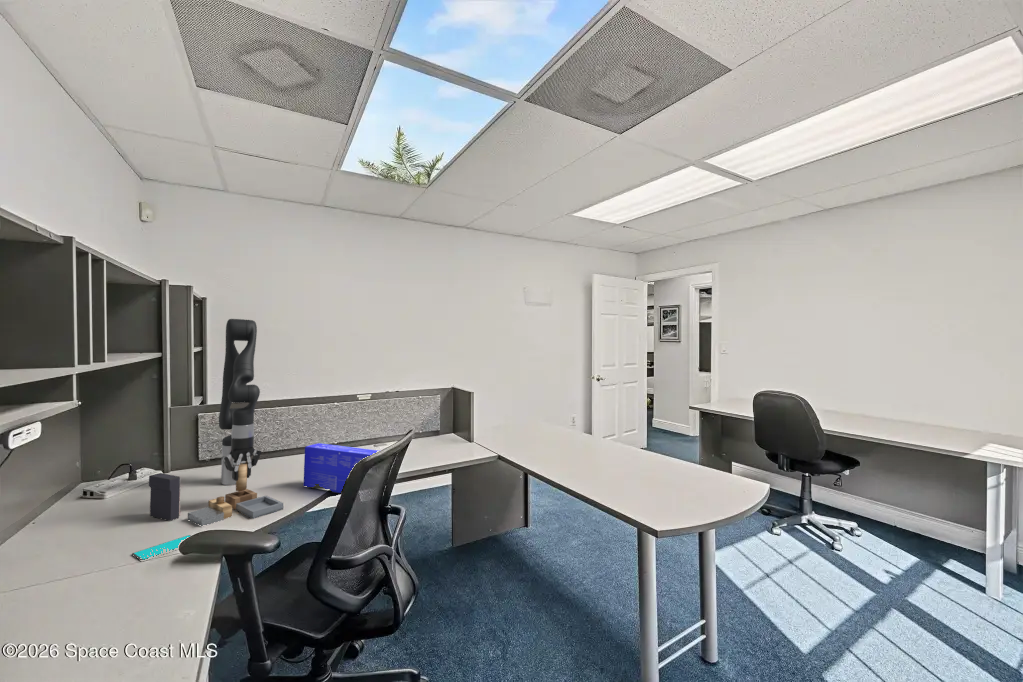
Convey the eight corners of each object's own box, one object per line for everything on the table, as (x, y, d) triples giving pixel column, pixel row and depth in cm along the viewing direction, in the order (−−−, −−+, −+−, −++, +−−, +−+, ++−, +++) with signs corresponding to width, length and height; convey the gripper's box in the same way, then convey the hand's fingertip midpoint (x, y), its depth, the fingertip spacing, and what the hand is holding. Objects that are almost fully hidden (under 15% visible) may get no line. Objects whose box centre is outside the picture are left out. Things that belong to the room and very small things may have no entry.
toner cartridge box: (387, 494, 183) (389, 451, 183) (375, 501, 175) (376, 456, 175) (317, 481, 197) (318, 441, 197) (302, 487, 189) (303, 445, 189)
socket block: (225, 504, 167) (225, 494, 167) (247, 498, 174) (247, 488, 174) (234, 509, 163) (235, 499, 163) (256, 503, 169) (257, 493, 169)
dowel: (234, 489, 168) (234, 464, 168) (243, 487, 171) (244, 462, 171) (238, 491, 166) (239, 466, 166) (248, 489, 169) (249, 463, 169)
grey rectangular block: (187, 521, 152) (187, 512, 152) (209, 514, 158) (209, 506, 158) (201, 528, 147) (202, 519, 147) (223, 520, 153) (223, 512, 153)
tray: (235, 510, 162) (236, 503, 162) (265, 501, 171) (266, 495, 171) (252, 518, 155) (253, 511, 155) (283, 509, 164) (283, 502, 164)
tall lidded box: (181, 517, 155) (182, 475, 155) (168, 521, 150) (169, 479, 151) (160, 512, 158) (162, 472, 158) (147, 517, 154) (148, 475, 154)
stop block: (208, 511, 160) (208, 495, 161) (217, 508, 163) (217, 492, 163) (222, 519, 154) (223, 502, 154) (231, 516, 156) (232, 500, 156)
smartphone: (131, 553, 127) (189, 534, 140) (131, 556, 127) (189, 537, 140) (141, 560, 124) (200, 540, 137) (141, 563, 124) (200, 543, 137)
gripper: (257, 430, 176) (255, 472, 176) (218, 436, 164) (216, 481, 165) (266, 433, 172) (264, 476, 172) (227, 440, 160) (225, 485, 160)
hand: (241, 478), depth 168 cm, fingers closed on dowel, 3 cm apart
